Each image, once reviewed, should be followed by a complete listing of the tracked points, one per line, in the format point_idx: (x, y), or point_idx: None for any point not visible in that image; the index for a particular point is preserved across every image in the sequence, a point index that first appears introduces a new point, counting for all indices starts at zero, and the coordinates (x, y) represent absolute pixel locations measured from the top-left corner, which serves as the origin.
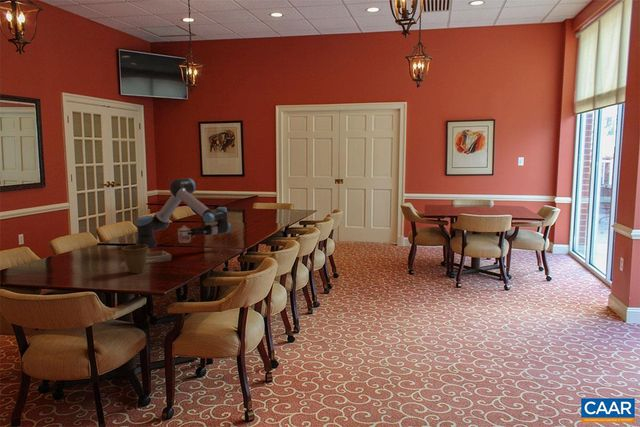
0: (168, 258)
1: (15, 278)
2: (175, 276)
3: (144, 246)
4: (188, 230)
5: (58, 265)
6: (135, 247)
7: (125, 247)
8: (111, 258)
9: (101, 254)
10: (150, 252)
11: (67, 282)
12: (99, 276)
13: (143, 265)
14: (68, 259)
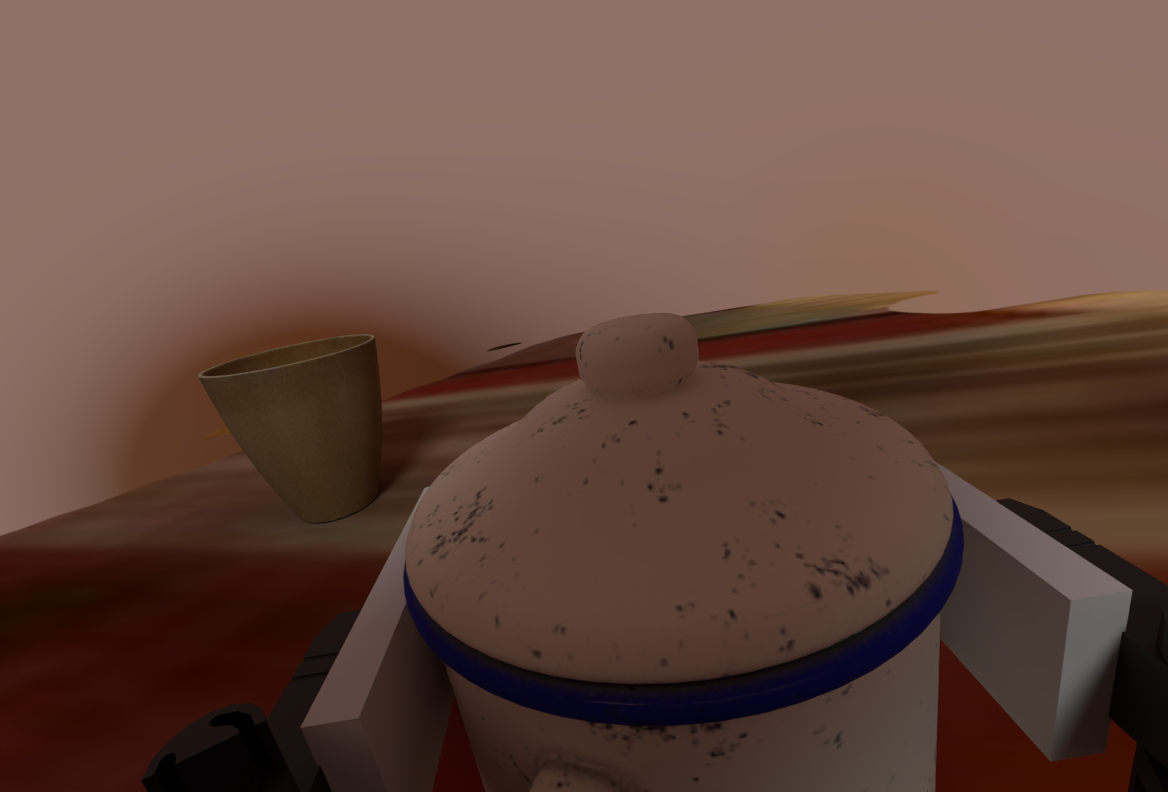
0: None
1: None
2: None
3: (288, 375)
4: (407, 580)
5: (729, 344)
6: (358, 362)
7: (368, 339)
8: None
9: (969, 375)
10: None
11: (436, 390)
12: (426, 425)
13: (269, 484)
14: (847, 338)
